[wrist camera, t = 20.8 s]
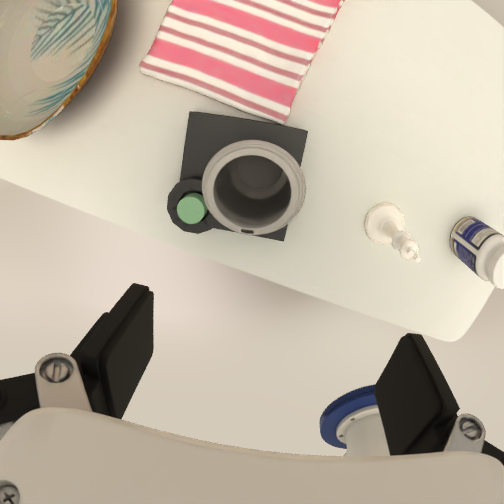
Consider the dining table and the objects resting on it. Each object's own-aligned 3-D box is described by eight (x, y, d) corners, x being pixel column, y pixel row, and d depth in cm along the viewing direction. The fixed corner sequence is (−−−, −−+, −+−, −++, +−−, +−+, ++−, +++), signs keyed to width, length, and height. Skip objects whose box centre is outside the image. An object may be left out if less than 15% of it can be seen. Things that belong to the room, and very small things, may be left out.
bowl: (49, -42, 21) (17, -56, 13) (187, -25, 24) (166, -55, 17) (-16, 106, 30) (-52, 111, 23) (94, 161, 33) (55, 173, 26)
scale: (282, 238, 36) (283, 250, 33) (174, 217, 36) (165, 227, 33) (306, 130, 31) (309, 131, 28) (188, 111, 31) (179, 110, 28)
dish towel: (362, -34, 22) (369, -47, 19) (283, 128, 31) (284, 129, 28) (224, -77, 20) (220, -91, 17) (140, 76, 29) (127, 73, 26)
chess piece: (382, 194, 33) (418, 222, 24) (410, 219, 34) (449, 253, 25) (356, 227, 35) (382, 265, 26) (385, 250, 36) (415, 292, 26)
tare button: (206, 220, 32) (202, 226, 31) (180, 216, 32) (175, 221, 31) (209, 194, 31) (206, 199, 30) (183, 190, 31) (178, 194, 30)
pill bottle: (474, 258, 35) (514, 294, 26) (443, 254, 35) (482, 293, 26) (486, 218, 33) (530, 248, 23) (455, 212, 33) (499, 242, 24)
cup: (222, 194, 32) (194, 234, 21) (228, 130, 30) (201, 136, 19) (290, 202, 32) (298, 247, 21) (300, 139, 30) (314, 149, 19)
